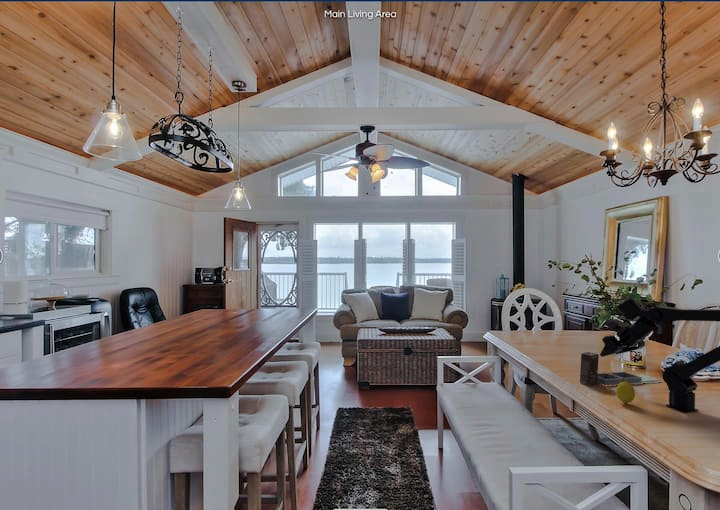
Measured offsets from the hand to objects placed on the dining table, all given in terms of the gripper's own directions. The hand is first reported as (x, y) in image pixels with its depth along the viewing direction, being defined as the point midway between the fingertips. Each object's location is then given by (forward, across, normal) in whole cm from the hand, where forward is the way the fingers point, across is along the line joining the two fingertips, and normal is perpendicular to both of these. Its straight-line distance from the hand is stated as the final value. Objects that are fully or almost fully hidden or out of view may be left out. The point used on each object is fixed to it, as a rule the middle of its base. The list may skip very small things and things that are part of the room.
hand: (608, 354), depth 165 cm
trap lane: (+12, -17, +7) cm, 21 cm away
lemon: (0, +11, +19) cm, 22 cm away
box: (+15, 0, +4) cm, 15 cm away
